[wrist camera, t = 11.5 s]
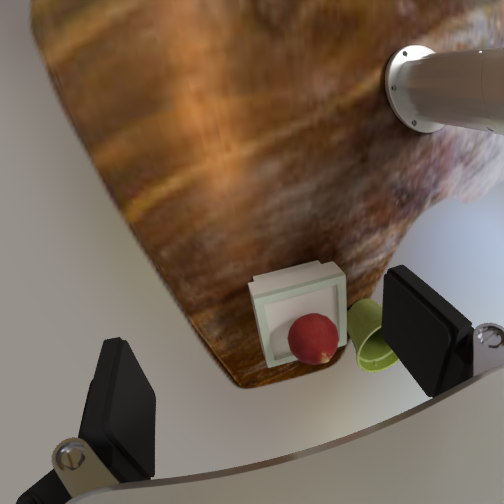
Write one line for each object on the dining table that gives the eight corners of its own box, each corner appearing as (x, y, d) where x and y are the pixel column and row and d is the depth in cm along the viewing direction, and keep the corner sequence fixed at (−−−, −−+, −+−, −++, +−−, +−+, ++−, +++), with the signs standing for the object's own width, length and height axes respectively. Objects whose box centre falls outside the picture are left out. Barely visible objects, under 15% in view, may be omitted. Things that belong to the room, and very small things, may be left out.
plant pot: (331, 299, 46) (356, 334, 38) (386, 280, 47) (417, 310, 39) (335, 345, 50) (357, 381, 42) (385, 326, 51) (411, 357, 43)
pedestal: (324, 251, 43) (345, 274, 37) (328, 316, 47) (346, 344, 41) (243, 271, 42) (253, 299, 36) (257, 336, 46) (268, 367, 40)
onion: (320, 336, 41) (344, 378, 34) (278, 340, 40) (296, 385, 32) (328, 298, 39) (356, 338, 31) (283, 301, 37) (304, 344, 30)
